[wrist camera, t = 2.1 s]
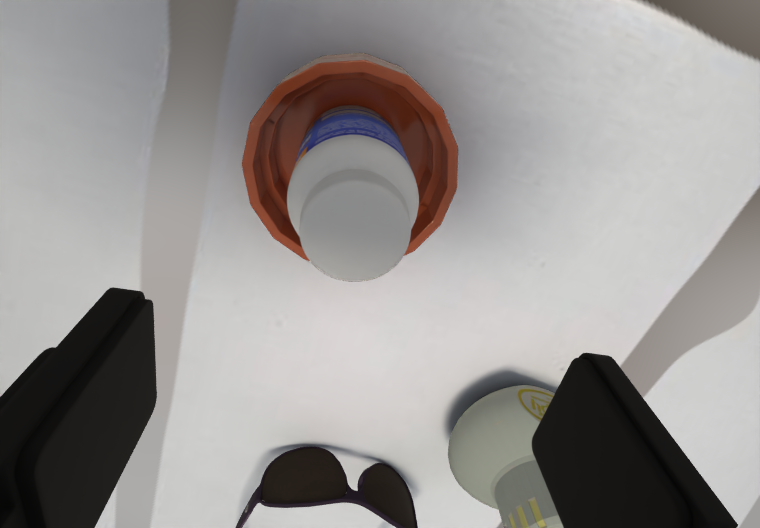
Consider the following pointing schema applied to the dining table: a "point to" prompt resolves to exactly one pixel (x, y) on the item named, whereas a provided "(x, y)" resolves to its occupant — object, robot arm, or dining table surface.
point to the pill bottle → (352, 194)
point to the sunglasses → (331, 487)
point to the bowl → (338, 88)
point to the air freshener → (504, 456)
